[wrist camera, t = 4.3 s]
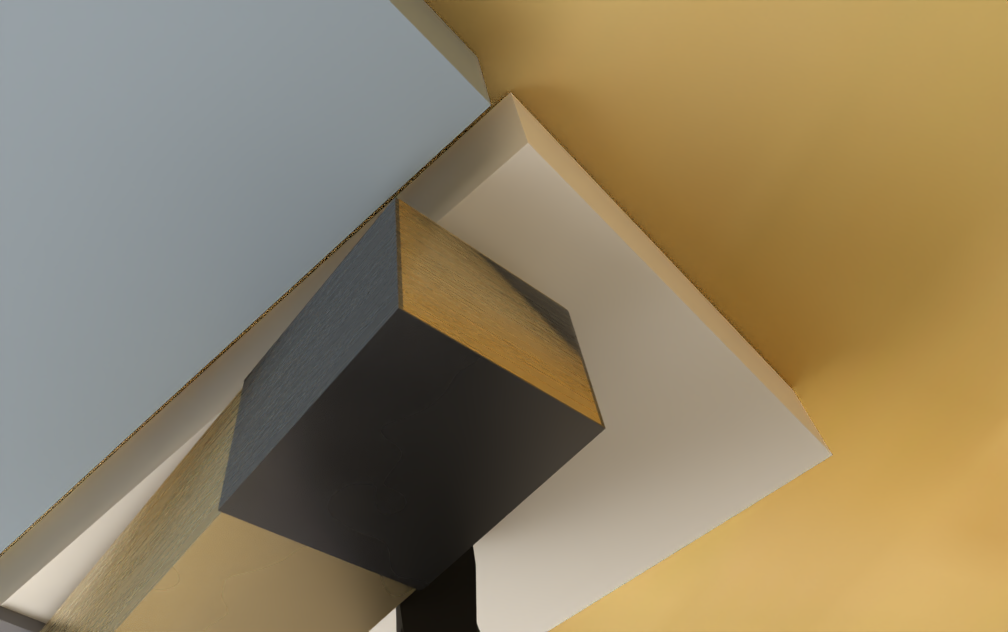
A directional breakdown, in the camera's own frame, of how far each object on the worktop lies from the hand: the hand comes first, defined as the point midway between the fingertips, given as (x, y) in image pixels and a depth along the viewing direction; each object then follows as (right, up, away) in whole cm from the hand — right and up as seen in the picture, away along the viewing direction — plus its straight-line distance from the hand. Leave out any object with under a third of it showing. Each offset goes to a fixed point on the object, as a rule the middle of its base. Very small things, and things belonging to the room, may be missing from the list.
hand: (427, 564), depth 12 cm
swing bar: (-4, -1, 0) cm, 4 cm away
